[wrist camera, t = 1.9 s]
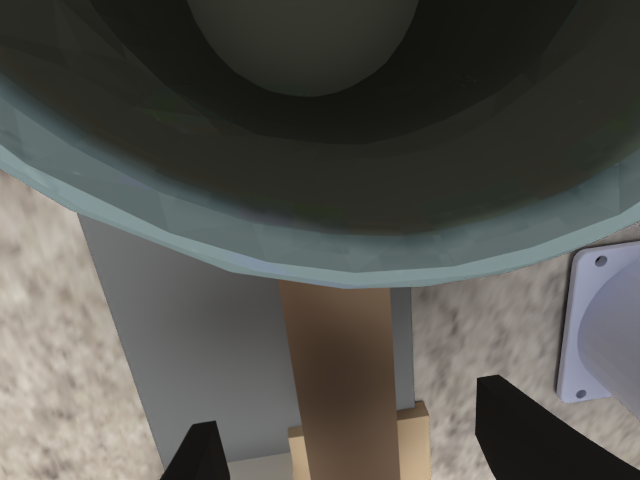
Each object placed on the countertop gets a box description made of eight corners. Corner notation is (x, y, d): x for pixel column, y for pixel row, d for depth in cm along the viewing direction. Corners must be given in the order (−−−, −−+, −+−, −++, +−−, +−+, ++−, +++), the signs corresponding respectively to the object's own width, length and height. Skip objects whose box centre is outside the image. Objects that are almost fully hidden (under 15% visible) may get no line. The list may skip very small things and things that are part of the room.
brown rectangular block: (354, 186, 16) (386, 232, 11) (371, 397, 19) (401, 498, 15) (273, 197, 16) (272, 248, 11) (306, 408, 19) (316, 513, 15)
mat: (403, 150, 16) (406, 152, 15) (417, 529, 23) (419, 535, 23) (74, 193, 15) (71, 196, 15) (200, 567, 23) (199, 573, 23)
